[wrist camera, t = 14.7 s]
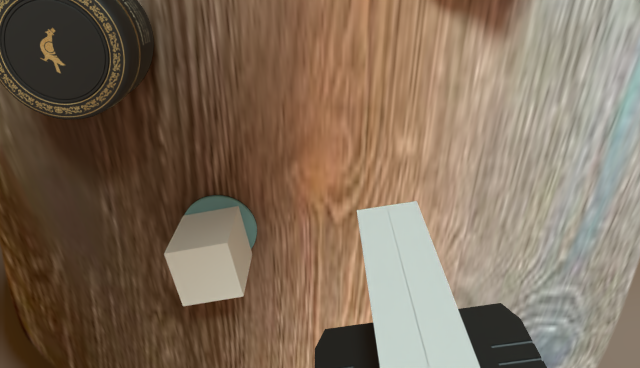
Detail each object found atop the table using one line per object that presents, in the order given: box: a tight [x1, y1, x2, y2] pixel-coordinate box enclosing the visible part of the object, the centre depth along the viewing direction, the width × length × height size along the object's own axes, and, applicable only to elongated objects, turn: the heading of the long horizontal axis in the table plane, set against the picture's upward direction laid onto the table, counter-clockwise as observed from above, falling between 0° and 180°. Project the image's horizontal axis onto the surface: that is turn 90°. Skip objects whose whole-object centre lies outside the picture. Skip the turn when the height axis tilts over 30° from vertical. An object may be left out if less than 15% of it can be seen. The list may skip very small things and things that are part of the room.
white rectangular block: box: [164, 206, 252, 306], centre depth 45 cm, size 5×5×7 cm
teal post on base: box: [185, 195, 257, 249], centre depth 46 cm, size 7×7×7 cm
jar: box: [0, 0, 154, 119], centre depth 38 cm, size 10×10×8 cm
